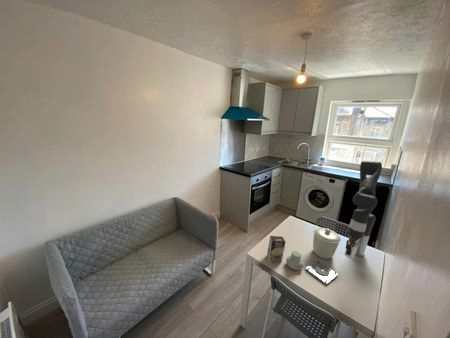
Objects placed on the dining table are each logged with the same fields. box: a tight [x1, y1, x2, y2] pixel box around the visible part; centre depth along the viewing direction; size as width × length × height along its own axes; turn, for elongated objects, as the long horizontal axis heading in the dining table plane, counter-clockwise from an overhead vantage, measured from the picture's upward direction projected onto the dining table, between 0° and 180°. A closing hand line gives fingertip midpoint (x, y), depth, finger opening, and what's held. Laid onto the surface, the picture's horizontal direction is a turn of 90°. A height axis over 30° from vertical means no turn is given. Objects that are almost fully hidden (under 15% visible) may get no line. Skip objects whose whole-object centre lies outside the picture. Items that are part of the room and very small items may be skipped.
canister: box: [312, 227, 342, 260], centre depth 140 cm, size 18×18×21 cm
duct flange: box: [305, 260, 339, 286], centre depth 124 cm, size 14×14×2 cm
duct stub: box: [344, 239, 359, 260], centre depth 112 cm, size 6×6×9 cm
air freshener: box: [285, 250, 304, 271], centre depth 127 cm, size 11×8×10 cm
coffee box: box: [266, 235, 286, 263], centre depth 132 cm, size 9×6×16 cm
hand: (350, 252), depth 112 cm, fingers closed on duct stub, 5 cm apart
